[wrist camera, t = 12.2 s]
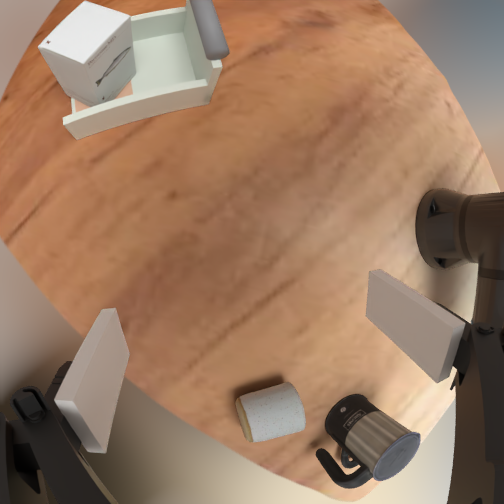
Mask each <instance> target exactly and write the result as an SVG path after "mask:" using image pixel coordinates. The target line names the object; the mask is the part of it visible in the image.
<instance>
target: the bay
mask: <svg viewBox="0 0 504 504" xmlns="http://www.w3.org/2000/svg"><path fill="white" fill-rule="evenodd" d="M131 29H132V39H133V49H134V58H135V67H136V74H135V75H134V77H133V78H132V79H131V80H130V81H129V82H128V83H127V84H126V86H125V87H124V88H123V89H122V90H121V92H120V93H119V94H118V95H117V97H116V98H115V99H114V100H112V101H108V102H105V103H102V104H99V105H96V106H93V107H89V106H87V105H85V104H83V103H81V102H79V101H77V100H75V99H73V98H72V97H71V102H72V113H73V114H71V115H68V116H66V117H63V124H64V126H65V127H66V128H67V129H68V131H69V132H70V133H71V134H72V135H73V136H74V137H75V138H76V140H79V139H82V138H85V137H87V136H90V135H93V134H96V133H99V132H102V131H105V130H108V129H111V128H114V127H117V126H121V125H124V124H127V123H131V122H134V121H138V120H141V119H145V118H149V117H153V116H157V115H161V114H165V113H169V112H173V111H178V110H182V109H187V108H192V107H197V106H202V105H207V104H209V102H210V99H211V97H212V94H213V91H214V88H215V86H216V83H217V80H218V78H219V75H220V72H221V70H222V67H223V66H222V63H221V60H220V59H222V58H224V57H226V56H227V55H228V54H229V48H228V45H227V42H226V39H225V37H224V34H223V31H222V28H221V25H220V22H219V19H218V16H217V13H216V11H215V8H214V5H213V2H212V0H187V1H186V7H180V8H173V9H167V10H161V11H155V12H150V13H145V14H140V15H135V16H131Z"/></svg>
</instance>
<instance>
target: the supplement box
mask: <svg viewBox="0 0 504 504" xmlns="http://www.w3.org/2000/svg"><path fill="white" fill-rule="evenodd" d="M38 49H39V50H40V52H41V54H42V55H43V57H44V59H45V60H46V62H47V64H48V65H49V67H50V69H51V70H52V72H53V74H54V75H55V77H56V79H57V80H58V82H59V84H60V85H61V87H62V88H63V90H64V92H65V93H66V95H68V96H70V97H72V98H73V99H75V100H77V101H79V102H81V103H83V104H85V105H87V106H89V107H93V106H96V105H99V104H102V103H105V102H108V101H112V100H114V99H115V98H116V97H117V95H118V94H119V93H120V92H121V90H122V89H123V88H124V87H125V86H126V84H127V83H128V82H129V81H130V80H131V79H132V78H133V77H134V75H135V74H136V67H135V58H134V49H133V39H132V29H131V16H130V15H127V14H124V13H121V12H118V11H115V10H112V9H109V8H106V7H103V6H100V5H97V4H94V3H91V2H87V1H84V2H82V3H81V4H80V5H79V6H78V7H77V8H76V9H75V10H73V11H72V12H71V13H70V14H69V15H68V16H67V17H66V18H65V19H64V20H63V21H62V22H61V23H60V24H59V25H58V26H57V27H56V28H55V29H54V30H53V31H52V32H51V33H50V34H49V35H48V36H47V37H46V38H45V39H44V40H43V42H42V43H41V44H40V45H39V46H38Z"/></svg>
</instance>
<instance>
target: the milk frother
mask: <svg viewBox="0 0 504 504" xmlns="http://www.w3.org/2000/svg"><path fill="white" fill-rule="evenodd" d="M325 427H326V431H327V432H328V434H329V435H331V437H332V438H333V439H334V440H335V441H336V442H337V443H338V444H339V445H340V446H341V447H342V453H341V462H342V465H343V466H344V467H345V468H353V467H355V466H357V465H360V466H361V467H360V468H359V469H357V470H356V471H355V472H354V473H352V474H349V475H346V474H345V473H344V472H343V471H342V469H341V468H340V467H339V465H338V464H337V463H336V462H335V460H334V459H333V458H332V456H331V455H330V454H329V452H328V451H326V450H325V449H322V448H320V449H318V450H317V451H316V457H317V458H318V460H319V461H320V463H321V464H322V466H323V467H324V469H325V470H326V472H327V473H328V475H329V476H330V477H331V479H332V480H333V481H334V482H335V483H336V484H337V485H339V486H341V487H343V488H349V489H350V488H357V487H359V486H361V485H363V484H365V483H366V482H367V481H368V480H370V479H371V478H372V477H373V478H374V479H375V480H377V481H383V480H386V479H389V478H391V477H393V476H394V475H396V474H397V473H399V472H400V471H401V470H402V469H403V468H404V467H405V466H406V465H407V464H408V463H409V462H410V461H411V459H412V458H413V457H414V455H415V454H416V452H417V450H418V448H419V445H420V434H419V433H416V432H411V431H410V430H408V429H407V428H405V427H404V426H402V425H401V424H399V423H398V422H396V421H395V420H394V419H392V418H391V417H389V416H388V415H386V414H385V413H383V412H382V411H381V410H379V409H378V408H376V407H375V406H374V405H373V404H371V403H370V402H369V401H368V400H367V398H366V397H364V396H363V395H359V394H358V395H357V394H355V395H351V396H348V397H346V398H344V399H342V400H341V401H340V402H339V403H337V404H336V405H335V406H334V407H333V409H332V410H331V411H330V413H329V415H328V417H327V419H326V425H325ZM348 455H349V456H350V457H351V458H352V459H353V460H352V461H349V459H348Z"/></svg>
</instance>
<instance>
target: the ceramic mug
mask: <svg viewBox="0 0 504 504" xmlns="http://www.w3.org/2000/svg"><path fill="white" fill-rule="evenodd" d="M235 403H236V409H237V413H238V417H239V420H240V424H241V427H242V430H243V433H244V436H245V438H246V440H247V441H249V442H261V441H266V440H269V439H272V438H276V437H281V436H285V435H288V434H292V433H296V432H299V431H302V430H304V428H305V425H306V419H305V413H304V408H303V404H302V402H301V400H300V397H299V394H298V392H297V391H296V389H295V388H294V386H293V385H292V384H291V383H290V382H285V383H282V384H279V385H276V386H273V387H269V388H266V389H262V390H259V391H256V392H252V393H248V394H245V395H243V396H240V397H238V398H237V400H236V402H235Z"/></svg>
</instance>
